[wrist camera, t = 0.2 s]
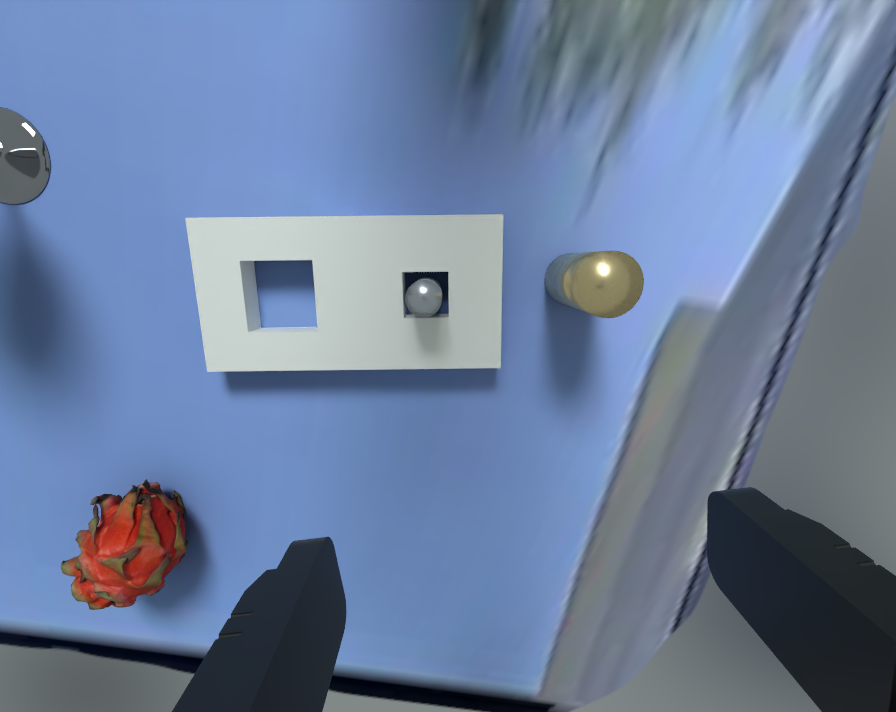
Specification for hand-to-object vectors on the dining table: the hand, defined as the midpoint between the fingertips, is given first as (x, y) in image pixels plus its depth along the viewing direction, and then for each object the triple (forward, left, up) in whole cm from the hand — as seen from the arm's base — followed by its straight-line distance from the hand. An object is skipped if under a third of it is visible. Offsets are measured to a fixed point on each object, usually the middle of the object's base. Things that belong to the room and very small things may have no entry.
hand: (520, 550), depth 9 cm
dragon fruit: (+18, -29, -28) cm, 44 cm away
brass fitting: (-4, +9, -28) cm, 30 cm away
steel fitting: (-3, -3, -28) cm, 28 cm away
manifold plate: (-3, -9, -28) cm, 30 cm away
